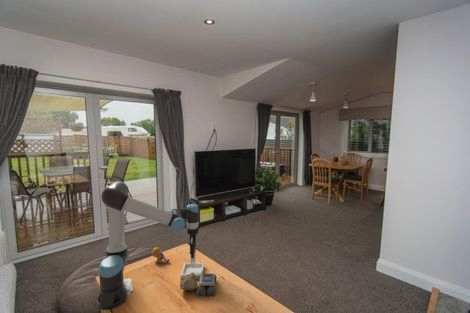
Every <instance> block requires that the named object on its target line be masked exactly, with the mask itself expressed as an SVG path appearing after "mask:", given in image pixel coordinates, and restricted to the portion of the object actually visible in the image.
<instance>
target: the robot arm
mask: <svg viewBox="0 0 470 313" xmlns="http://www.w3.org/2000/svg"><path fill="white" fill-rule="evenodd" d="M129 191H130V190H129V187H128V185H127V184H126V183H125V182H123V181H114V182H112V183H110V184H108V186H107V187H106V188H105V189H104V190H103V191H102V193H101V197H100V198H101V201H102V203H103V204H104V205H105V208H108V246H107V247H106V249H105V258H103V259H102V260H101V261H100V263H99V268H98V275H99V276H98V279H99V293H98V295H97V299H96V307H97V308H98V309H100V310H103V311H106V310H107V311H109V310H112V308H113V309H115V308H114V307H116V308H117V306H118V307H119V306H120V305H123V304H124V302H125V301H126V300H127V299H128V290H127V287H126V286H125V284H124V283H125V282H124V271H125V268H126V265H127V261H128V258H129V249H128V245H127V244H126V243H125V242H126V241H125V239H126V238H125V235H126V234H125V233H126V232H125V231H126V230H125V224H126V222H125V216H126V215H125V212H128V213H131V214H134V215H137V216H139V217H143V218H144V219H148V220H151V221H154V222H157V223H160V224H162V225H165V226H167V227H171V229H172V230H173V231H174V232H180V231H182V230H183V229H184V228H185V221H186V233H187V235H189V255H190V263H191V262H195V263H196V252H194V248H197V246H196V245H197V244H196V241H197V235H198V234H199V224H200V222H199V206H198V204H196V203H188V204H187V205H186V207H185V208H184V207H183V208H182V207H181V208H173V209H169V210H165V209H163V208H160V207H157V206H154V205H152V204H149V203H147V202H144V201H141V200H139V199H135V198H133V197H131V195H130V194H129Z"/></svg>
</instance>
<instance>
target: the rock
mask: <svg viewBox="0 0 470 313" xmlns="http://www.w3.org/2000/svg"><path fill="white" fill-rule="evenodd" d="M179 284H180V286H179V287H180V290H183V291H187V290H188V291H193V290H197V289H198V282H197V279H196V276H195V273H193V272H192V273H190V274H188V275H187V277H186V278H185V279H184V280H181V279H180V282H179Z"/></svg>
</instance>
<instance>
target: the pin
mask: <svg viewBox="0 0 470 313" xmlns="http://www.w3.org/2000/svg"><path fill="white" fill-rule="evenodd" d="M196 251H197V247H195V248H194V252H195V253H197V252H196ZM190 263H191V267H192V268H194V267H195V263H196V261H195V262H191V261H190Z"/></svg>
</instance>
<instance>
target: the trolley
mask: <svg viewBox="0 0 470 313" xmlns="http://www.w3.org/2000/svg"><path fill="white" fill-rule="evenodd" d="M198 281H199V282H198V286H197V288H196V295H197V296H198V297H199V298H202V297H204V296H205V295H207V296H208V297H214V296H215V295H216V294H217V289H216V287H215V283H216V282H217V275H216V273H203V274H201V275H200V277H199V279H198ZM205 286H208V287H207V289H206V287H205Z"/></svg>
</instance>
